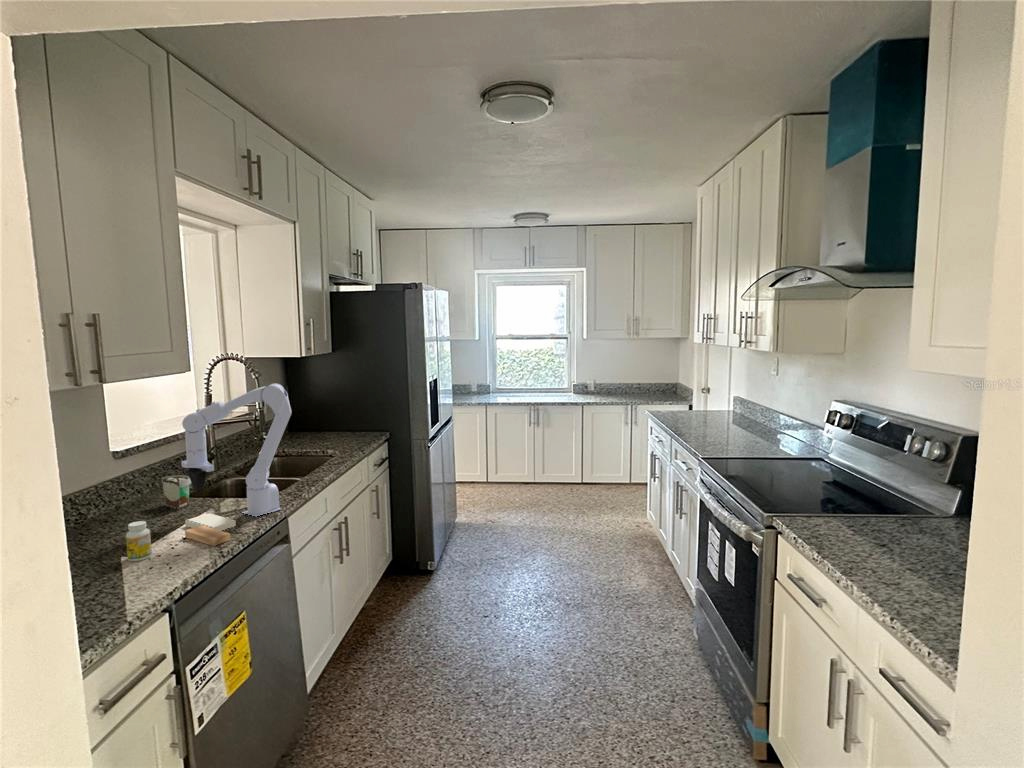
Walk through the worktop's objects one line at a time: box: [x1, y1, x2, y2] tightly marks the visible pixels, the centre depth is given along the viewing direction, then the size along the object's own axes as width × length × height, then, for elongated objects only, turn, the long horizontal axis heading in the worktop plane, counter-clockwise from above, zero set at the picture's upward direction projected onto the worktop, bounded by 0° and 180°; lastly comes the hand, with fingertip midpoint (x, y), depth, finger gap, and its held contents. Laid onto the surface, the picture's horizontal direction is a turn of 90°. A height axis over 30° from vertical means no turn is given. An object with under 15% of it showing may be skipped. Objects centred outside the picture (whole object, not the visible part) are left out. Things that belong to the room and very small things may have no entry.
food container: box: [161, 474, 192, 510], centre depth 187 cm, size 12×6×10 cm, turn 59°
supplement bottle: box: [125, 520, 153, 562], centre depth 142 cm, size 5×5×10 cm
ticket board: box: [184, 513, 237, 531], centre depth 166 cm, size 8×14×2 cm, turn 61°
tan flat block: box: [184, 525, 231, 547], centre depth 156 cm, size 5×14×2 cm, turn 61°
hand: (198, 490), depth 172 cm, fingers closed
